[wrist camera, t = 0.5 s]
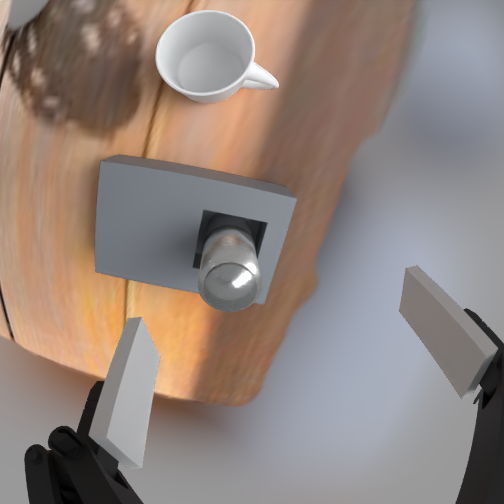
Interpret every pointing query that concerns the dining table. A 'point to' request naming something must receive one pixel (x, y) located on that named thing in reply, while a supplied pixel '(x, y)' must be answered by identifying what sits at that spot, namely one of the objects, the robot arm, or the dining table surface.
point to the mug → (210, 57)
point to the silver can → (229, 265)
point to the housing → (180, 219)
